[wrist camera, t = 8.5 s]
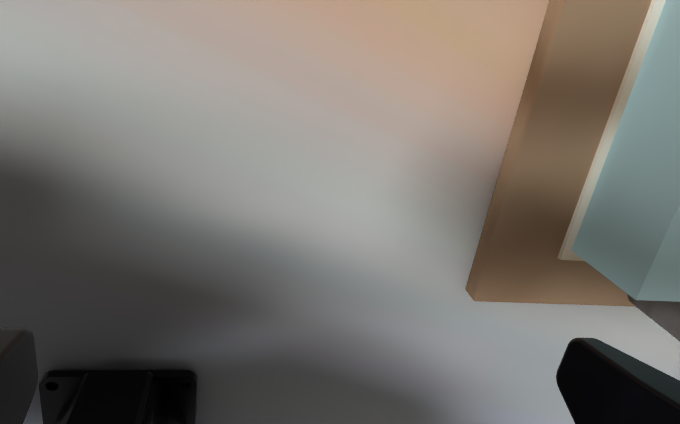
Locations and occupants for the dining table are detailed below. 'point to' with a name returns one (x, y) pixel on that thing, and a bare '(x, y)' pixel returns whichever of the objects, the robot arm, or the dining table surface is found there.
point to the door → (642, 180)
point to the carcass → (564, 159)
